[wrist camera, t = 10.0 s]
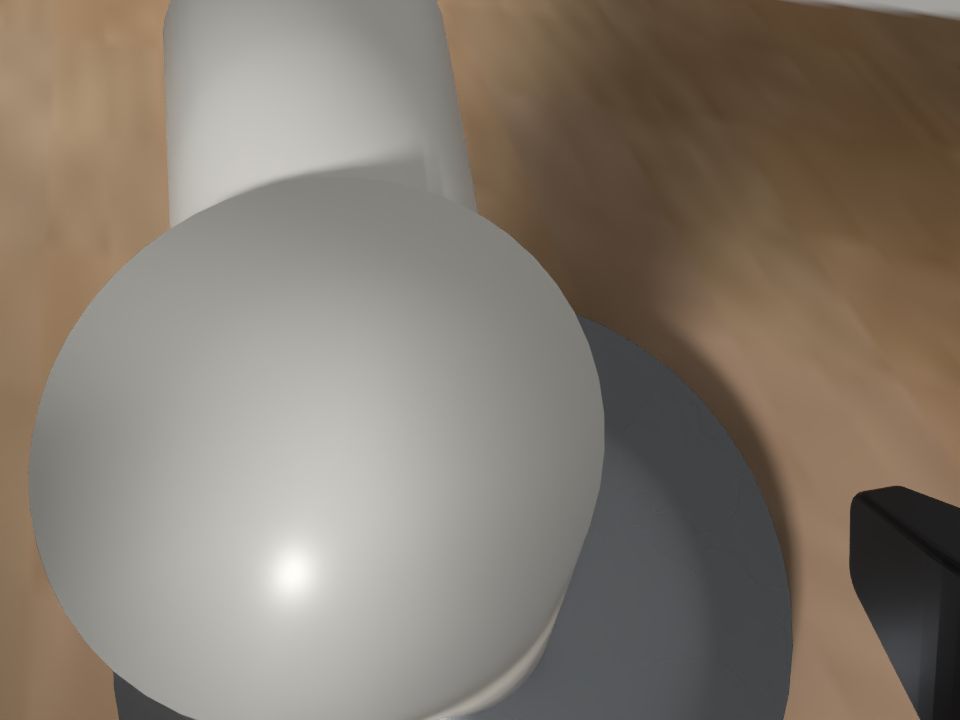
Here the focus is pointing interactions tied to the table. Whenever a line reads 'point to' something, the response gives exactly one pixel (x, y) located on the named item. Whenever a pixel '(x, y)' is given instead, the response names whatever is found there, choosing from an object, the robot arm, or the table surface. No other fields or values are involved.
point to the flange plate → (653, 573)
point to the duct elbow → (318, 394)
